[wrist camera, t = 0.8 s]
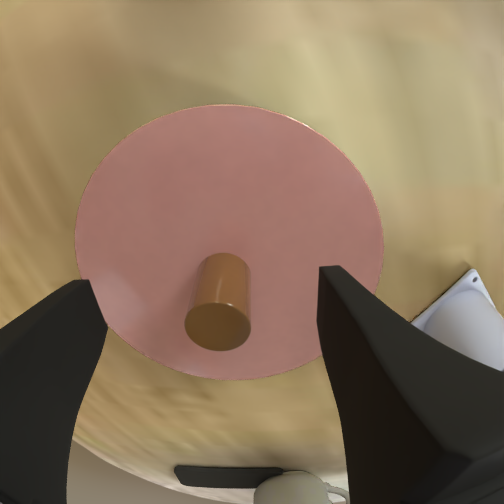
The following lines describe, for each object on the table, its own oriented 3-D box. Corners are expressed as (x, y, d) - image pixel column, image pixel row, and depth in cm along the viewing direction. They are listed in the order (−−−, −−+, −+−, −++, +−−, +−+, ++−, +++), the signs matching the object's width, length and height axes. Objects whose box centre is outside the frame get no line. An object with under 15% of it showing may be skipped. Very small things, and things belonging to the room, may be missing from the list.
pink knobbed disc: (416, 152, 13) (475, 182, 9) (320, 378, 19) (332, 437, 15) (90, 87, 11) (27, 94, 7) (94, 340, 18) (68, 395, 14)
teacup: (246, 490, 40) (249, 533, 33) (255, 465, 35) (260, 519, 28) (330, 483, 41) (339, 523, 34) (354, 457, 36) (367, 504, 29)
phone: (280, 487, 39) (182, 485, 39) (280, 483, 39) (182, 481, 39) (283, 471, 35) (172, 469, 35) (283, 466, 36) (172, 464, 36)
